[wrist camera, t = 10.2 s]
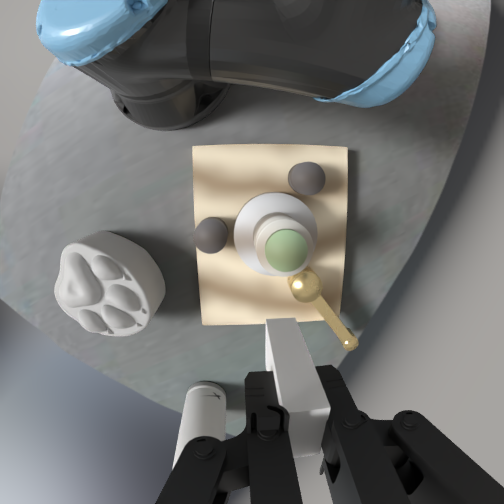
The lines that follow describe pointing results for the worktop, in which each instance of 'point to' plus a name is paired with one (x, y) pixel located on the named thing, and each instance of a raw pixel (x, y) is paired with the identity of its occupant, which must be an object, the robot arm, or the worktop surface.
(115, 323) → the paw-shaped mold
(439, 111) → the worktop surface
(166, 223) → the worktop surface
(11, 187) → the worktop surface
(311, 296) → the brass ball lever
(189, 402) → the travel mug
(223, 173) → the base
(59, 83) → the worktop surface
